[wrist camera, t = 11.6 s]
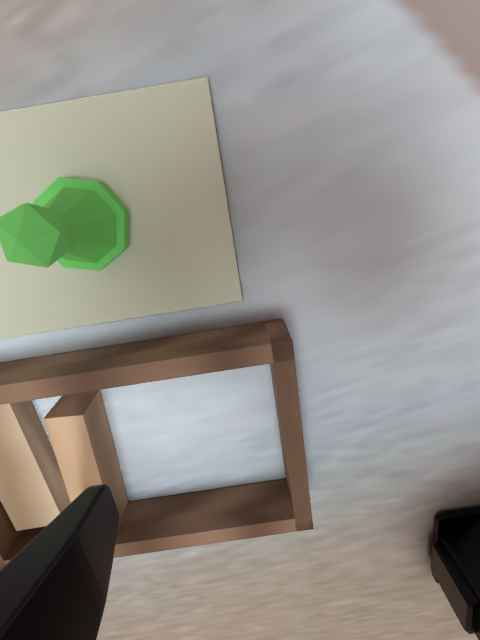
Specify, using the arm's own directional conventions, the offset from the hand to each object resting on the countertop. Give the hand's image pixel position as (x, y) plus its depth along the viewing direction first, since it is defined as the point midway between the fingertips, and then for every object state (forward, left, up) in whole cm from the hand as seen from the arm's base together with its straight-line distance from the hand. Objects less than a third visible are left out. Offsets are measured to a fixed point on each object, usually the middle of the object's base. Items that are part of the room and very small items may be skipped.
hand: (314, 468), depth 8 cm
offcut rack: (+9, +7, -12) cm, 16 cm away
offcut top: (+12, +8, -11) cm, 18 cm away
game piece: (+8, -6, -12) cm, 15 cm away
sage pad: (+8, -6, -12) cm, 15 cm away
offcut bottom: (+15, +7, -12) cm, 21 cm away
